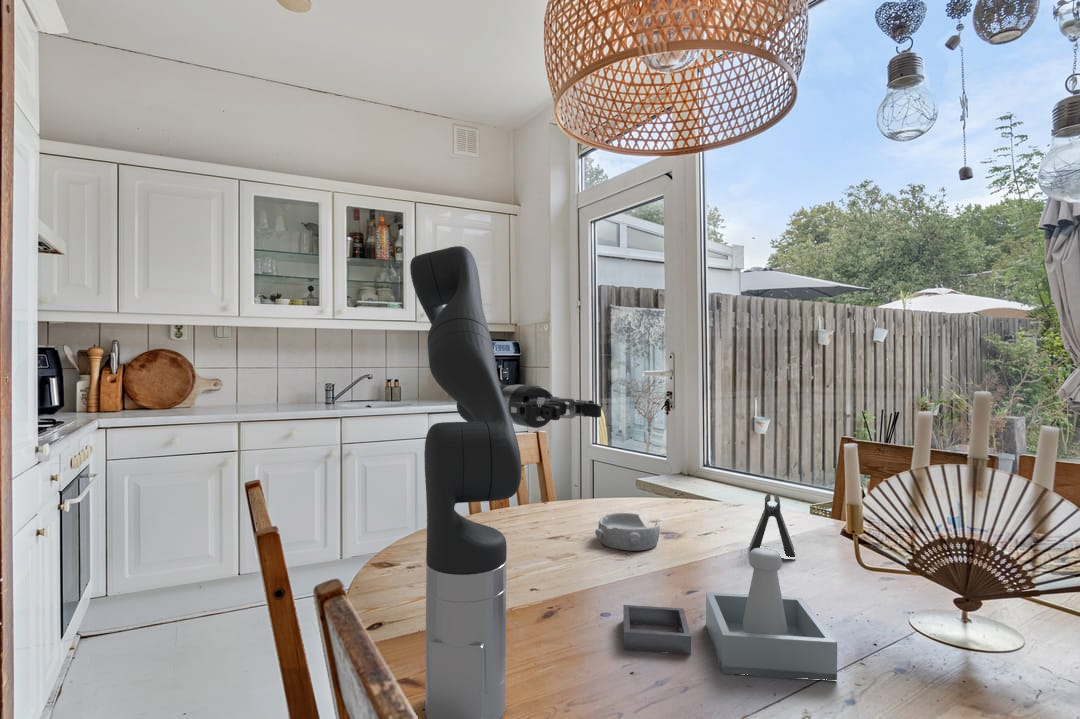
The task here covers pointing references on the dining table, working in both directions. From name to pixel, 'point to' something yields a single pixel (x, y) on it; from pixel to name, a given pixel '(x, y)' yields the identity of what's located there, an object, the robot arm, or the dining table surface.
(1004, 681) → the dining table surface
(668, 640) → the dark grey square tray
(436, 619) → the robot arm
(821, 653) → the bin
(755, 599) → the salt shaker
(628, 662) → the dining table surface
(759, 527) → the black a-shaped piece
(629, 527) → the dish
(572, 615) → the dining table surface
